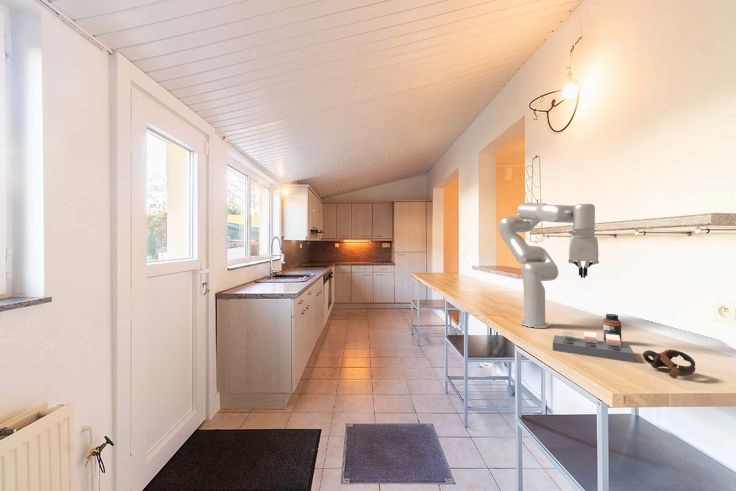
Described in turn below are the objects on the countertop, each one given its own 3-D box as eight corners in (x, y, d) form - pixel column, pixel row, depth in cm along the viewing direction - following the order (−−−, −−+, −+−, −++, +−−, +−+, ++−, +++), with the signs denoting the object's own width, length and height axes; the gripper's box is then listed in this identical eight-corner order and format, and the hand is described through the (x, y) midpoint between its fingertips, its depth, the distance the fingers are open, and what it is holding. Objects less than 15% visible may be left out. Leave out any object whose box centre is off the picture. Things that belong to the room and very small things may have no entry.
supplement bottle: (615, 340, 135) (615, 313, 135) (625, 344, 129) (625, 316, 129) (600, 339, 136) (599, 313, 136) (609, 344, 130) (609, 316, 130)
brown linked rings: (686, 372, 102) (698, 354, 98) (688, 394, 96) (700, 376, 91) (639, 355, 109) (647, 337, 104) (637, 375, 102) (646, 357, 98)
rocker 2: (605, 338, 123) (605, 333, 122) (619, 340, 120) (619, 334, 120) (607, 346, 118) (607, 341, 117) (620, 348, 116) (621, 343, 115)
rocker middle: (583, 336, 126) (583, 331, 126) (596, 337, 124) (596, 332, 124) (584, 343, 122) (584, 338, 121) (597, 345, 119) (597, 339, 119)
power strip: (554, 342, 132) (554, 334, 132) (629, 352, 119) (629, 343, 119) (552, 350, 122) (552, 341, 122) (634, 362, 109) (634, 352, 109)
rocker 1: (562, 336, 130) (562, 331, 130) (574, 338, 128) (574, 332, 128) (562, 337, 125) (562, 332, 125) (574, 339, 123) (574, 333, 123)
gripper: (562, 233, 135) (561, 277, 136) (606, 233, 127) (605, 279, 127) (563, 234, 142) (562, 275, 142) (605, 233, 133) (604, 277, 134)
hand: (583, 277), depth 135 cm, fingers closed
